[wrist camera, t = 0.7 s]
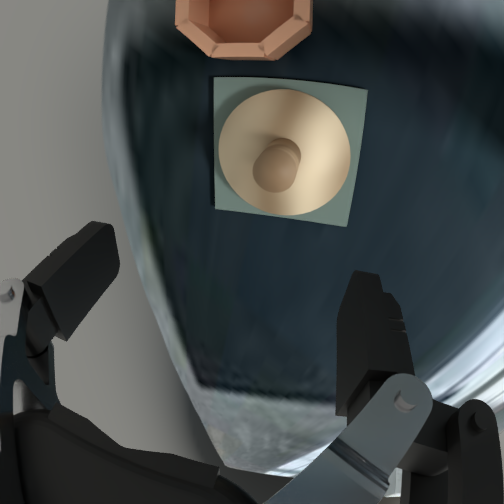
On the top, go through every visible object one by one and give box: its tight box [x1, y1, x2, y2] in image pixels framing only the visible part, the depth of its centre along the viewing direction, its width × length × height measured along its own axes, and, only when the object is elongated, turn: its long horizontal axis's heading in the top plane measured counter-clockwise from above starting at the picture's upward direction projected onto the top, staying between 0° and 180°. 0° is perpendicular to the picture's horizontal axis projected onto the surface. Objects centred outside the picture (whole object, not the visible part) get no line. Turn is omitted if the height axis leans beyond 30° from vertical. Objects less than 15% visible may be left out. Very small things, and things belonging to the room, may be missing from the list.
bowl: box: [175, 0, 313, 61], centre depth 15 cm, size 9×9×4 cm
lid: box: [219, 89, 351, 215], centre depth 21 cm, size 10×10×6 cm
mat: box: [214, 77, 368, 227], centre depth 23 cm, size 12×12×1 cm
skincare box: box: [385, 468, 402, 497], centre depth 48 cm, size 6×4×12 cm
